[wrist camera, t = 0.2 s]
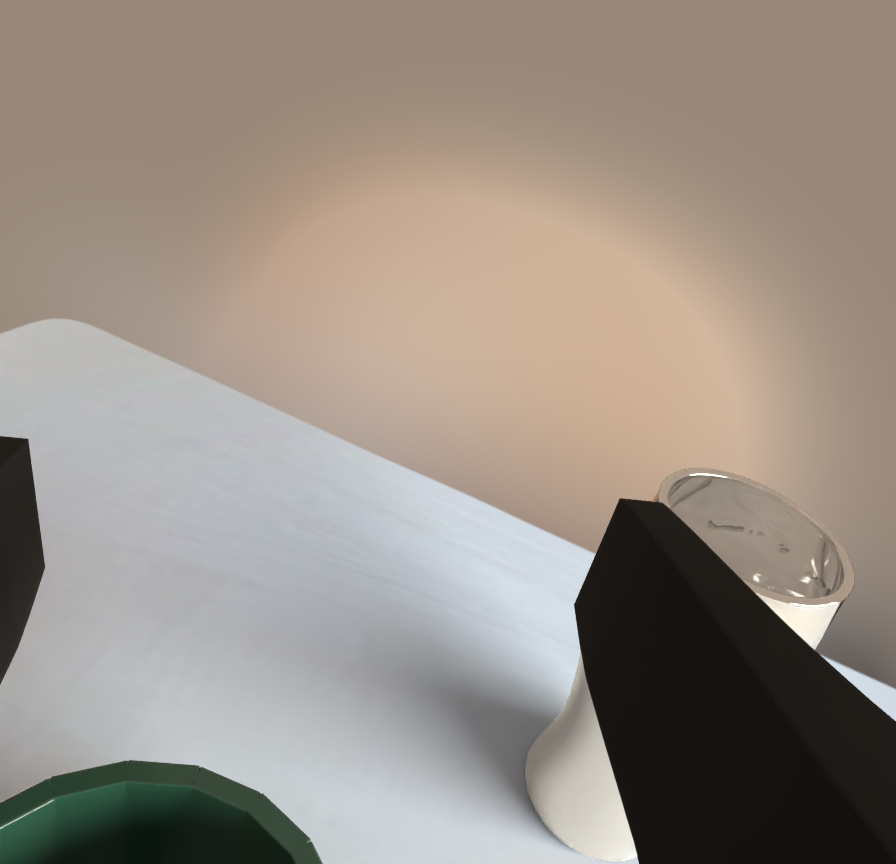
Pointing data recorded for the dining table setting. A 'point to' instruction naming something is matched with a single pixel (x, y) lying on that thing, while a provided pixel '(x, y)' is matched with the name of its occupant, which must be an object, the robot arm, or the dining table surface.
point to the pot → (148, 820)
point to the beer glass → (762, 568)
